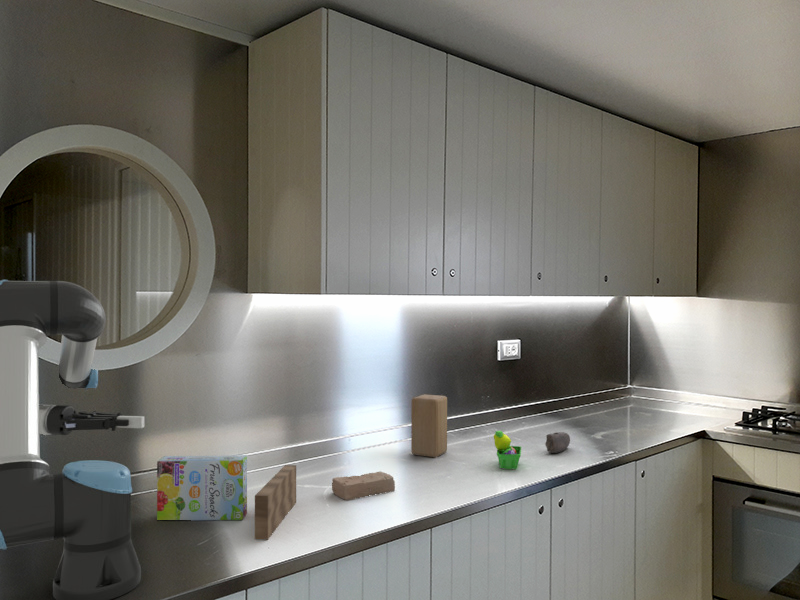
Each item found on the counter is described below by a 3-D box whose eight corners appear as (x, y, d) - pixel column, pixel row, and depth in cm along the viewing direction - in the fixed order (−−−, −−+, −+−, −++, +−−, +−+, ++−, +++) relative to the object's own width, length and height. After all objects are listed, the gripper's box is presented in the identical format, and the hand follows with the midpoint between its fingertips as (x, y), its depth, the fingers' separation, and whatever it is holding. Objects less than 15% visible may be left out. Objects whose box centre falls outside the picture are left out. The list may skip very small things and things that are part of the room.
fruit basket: (520, 470, 200) (520, 435, 200) (492, 469, 202) (492, 434, 202) (521, 461, 211) (521, 427, 211) (494, 460, 213) (494, 426, 213)
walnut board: (267, 539, 143) (267, 495, 143) (254, 539, 143) (254, 495, 143) (296, 502, 169) (296, 465, 169) (285, 502, 169) (285, 464, 169)
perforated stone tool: (562, 446, 233) (562, 427, 233) (575, 448, 229) (575, 429, 229) (541, 453, 222) (541, 434, 222) (554, 456, 219) (554, 436, 219)
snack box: (247, 513, 161) (247, 454, 161) (243, 521, 155) (243, 459, 155) (163, 514, 160) (163, 454, 160) (155, 521, 154) (155, 460, 154)
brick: (381, 484, 186) (380, 468, 186) (396, 491, 179) (396, 475, 179) (330, 494, 177) (330, 477, 177) (344, 502, 170) (344, 485, 170)
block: (410, 455, 220) (410, 397, 219) (422, 448, 228) (422, 393, 228) (436, 458, 215) (436, 399, 215) (448, 452, 224) (448, 395, 224)
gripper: (69, 429, 168) (155, 431, 166) (37, 440, 155) (129, 443, 153) (69, 400, 167) (155, 402, 165) (37, 410, 154) (129, 412, 152)
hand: (142, 422), depth 159 cm, fingers closed
